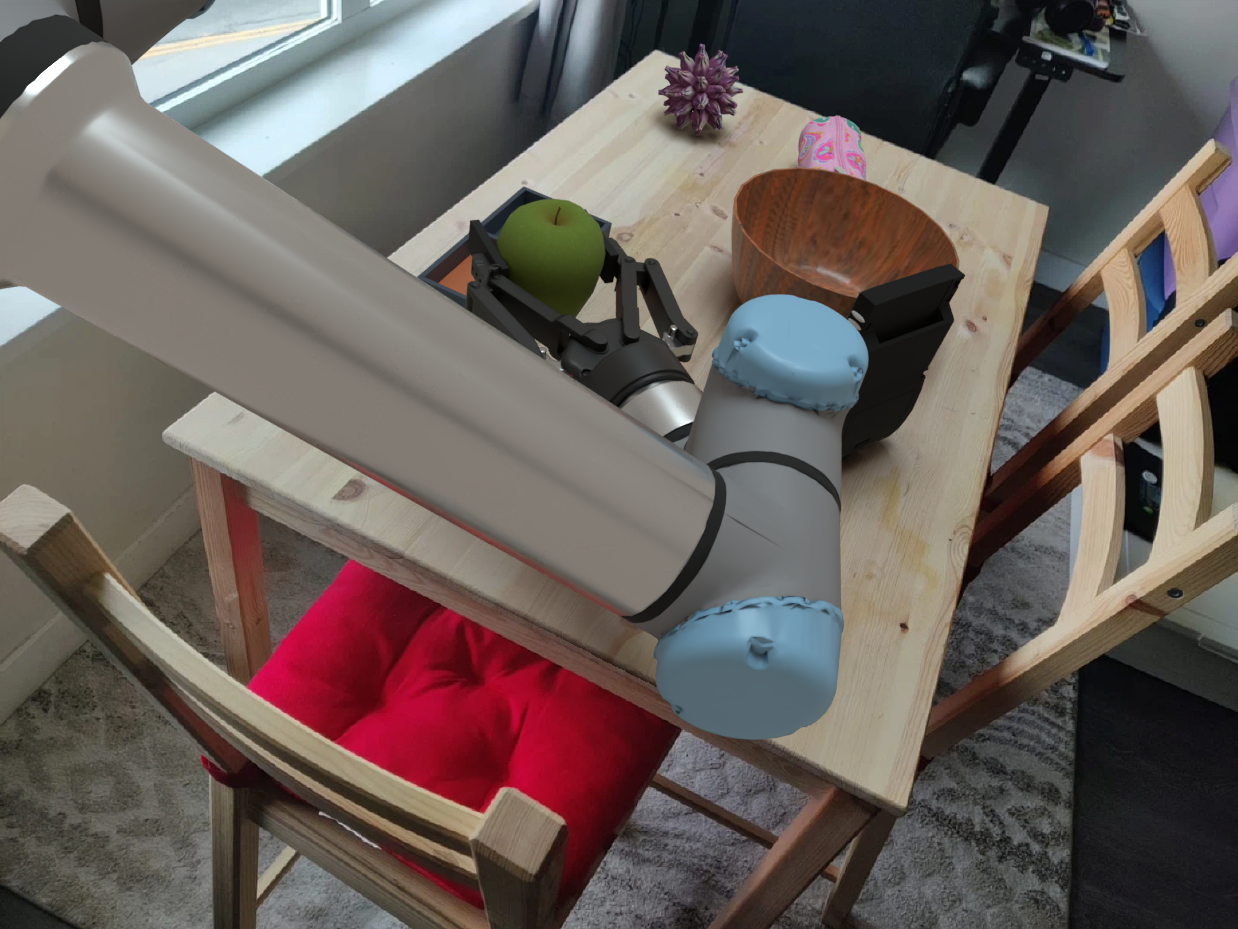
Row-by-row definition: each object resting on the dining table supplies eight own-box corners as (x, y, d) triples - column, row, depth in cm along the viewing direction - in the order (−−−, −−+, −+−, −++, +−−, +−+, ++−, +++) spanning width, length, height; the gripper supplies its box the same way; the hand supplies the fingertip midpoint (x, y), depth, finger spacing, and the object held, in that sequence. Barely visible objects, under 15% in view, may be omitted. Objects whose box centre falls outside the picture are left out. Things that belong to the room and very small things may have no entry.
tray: (514, 344, 92) (517, 322, 90) (415, 300, 94) (416, 277, 92) (607, 243, 108) (612, 222, 106) (521, 207, 110) (523, 185, 108)
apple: (525, 282, 80) (541, 163, 72) (607, 323, 79) (633, 206, 70) (468, 329, 75) (478, 206, 66) (555, 375, 73) (577, 253, 65)
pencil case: (860, 259, 116) (888, 197, 109) (791, 244, 115) (815, 180, 109) (850, 177, 131) (874, 117, 124) (788, 162, 130) (809, 102, 124)
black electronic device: (861, 419, 94) (946, 258, 80) (892, 449, 92) (985, 289, 78) (777, 455, 88) (853, 288, 74) (808, 487, 86) (892, 321, 72)
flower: (659, 114, 137) (739, 115, 136) (655, 149, 128) (741, 150, 127) (660, 33, 129) (745, 33, 128) (656, 64, 120) (747, 65, 119)
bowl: (883, 263, 116) (921, 183, 108) (942, 398, 99) (992, 315, 91) (694, 239, 112) (718, 153, 104) (721, 376, 95) (753, 286, 87)
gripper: (498, 487, 60) (398, 282, 73) (764, 426, 69) (633, 253, 82) (509, 405, 55) (399, 199, 67) (795, 351, 64) (650, 177, 76)
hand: (527, 228), depth 75 cm, fingers closed on apple, 9 cm apart
